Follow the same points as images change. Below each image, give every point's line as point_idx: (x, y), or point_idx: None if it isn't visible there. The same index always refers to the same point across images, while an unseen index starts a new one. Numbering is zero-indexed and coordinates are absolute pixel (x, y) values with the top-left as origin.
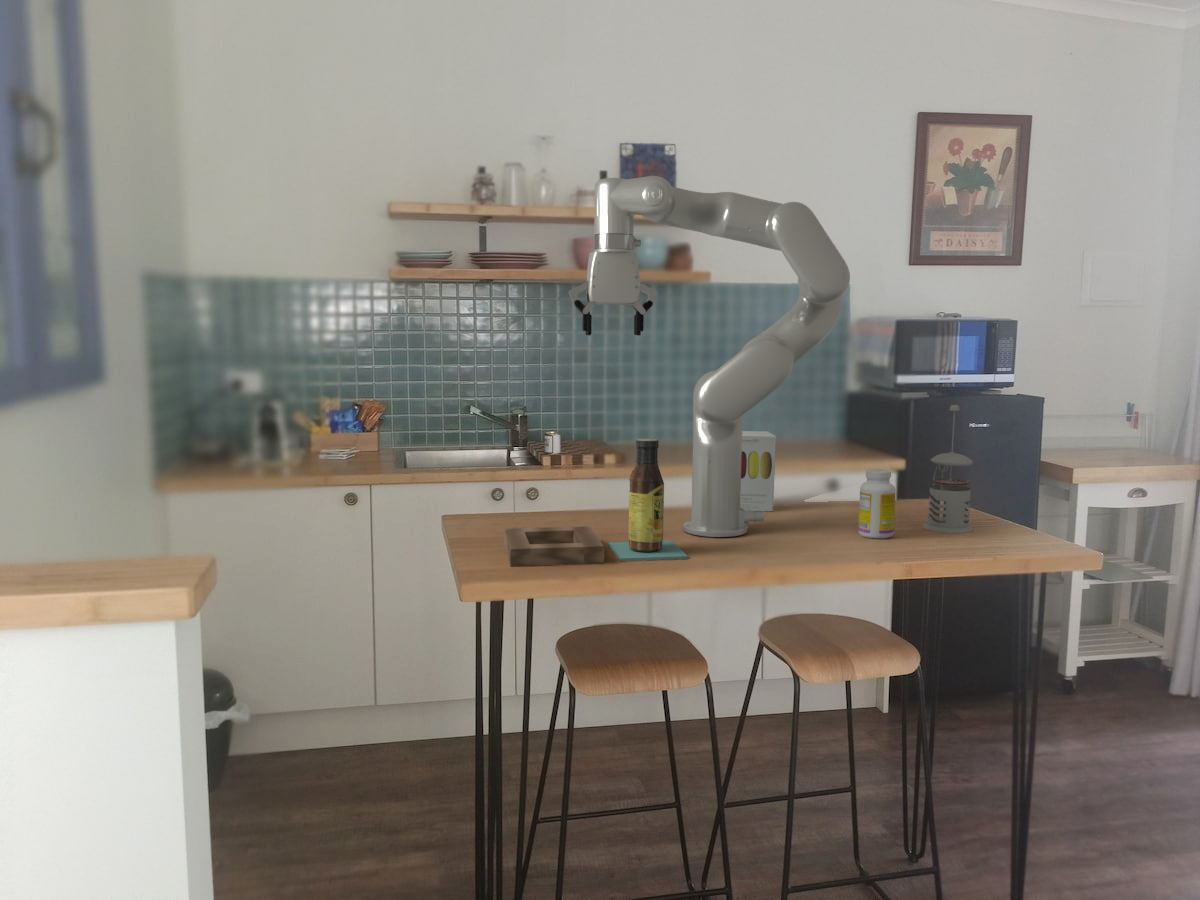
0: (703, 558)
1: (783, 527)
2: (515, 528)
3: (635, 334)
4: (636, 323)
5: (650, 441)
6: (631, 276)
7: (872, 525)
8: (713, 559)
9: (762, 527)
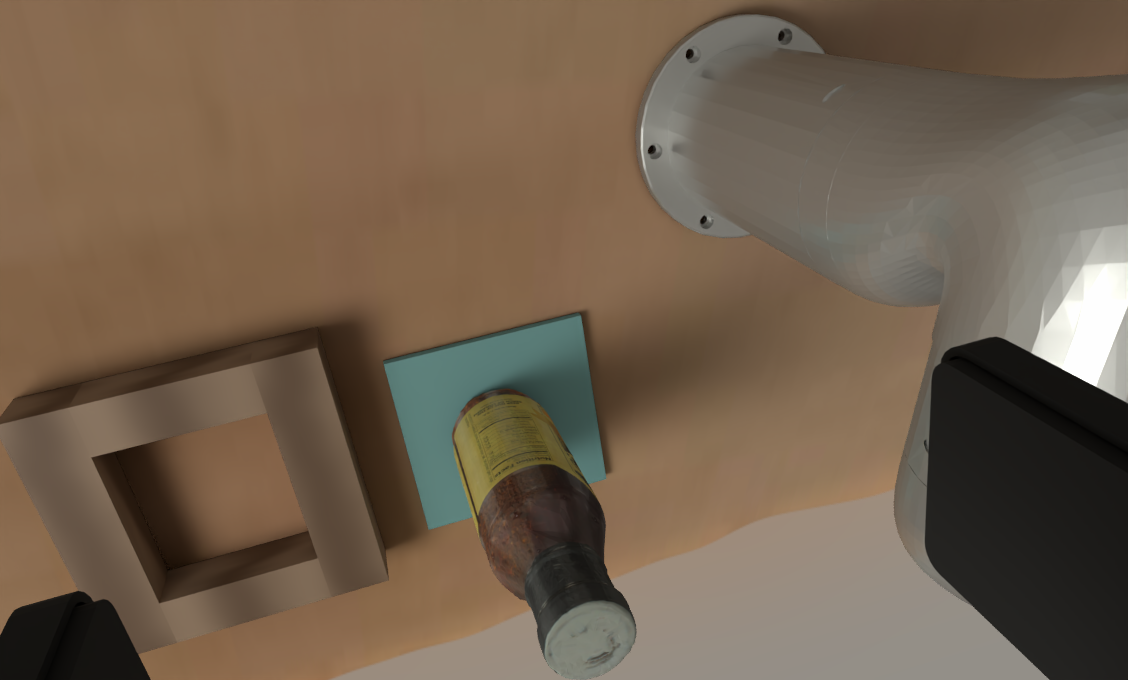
0: (644, 461)
1: (955, 54)
2: (38, 416)
3: (930, 465)
4: (1061, 648)
5: (600, 673)
6: None
7: None
8: (666, 466)
9: (893, 57)
